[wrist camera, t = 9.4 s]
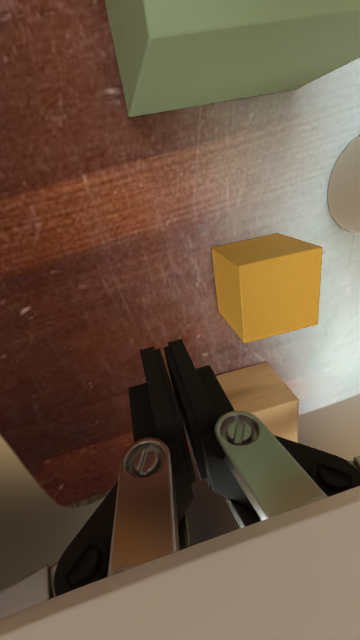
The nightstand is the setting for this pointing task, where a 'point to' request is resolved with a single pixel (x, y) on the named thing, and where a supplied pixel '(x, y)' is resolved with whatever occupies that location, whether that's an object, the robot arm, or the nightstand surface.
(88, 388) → the nightstand surface
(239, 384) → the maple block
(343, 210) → the vase
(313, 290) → the mustard block
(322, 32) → the stand
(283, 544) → the robot arm
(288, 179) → the nightstand surface
